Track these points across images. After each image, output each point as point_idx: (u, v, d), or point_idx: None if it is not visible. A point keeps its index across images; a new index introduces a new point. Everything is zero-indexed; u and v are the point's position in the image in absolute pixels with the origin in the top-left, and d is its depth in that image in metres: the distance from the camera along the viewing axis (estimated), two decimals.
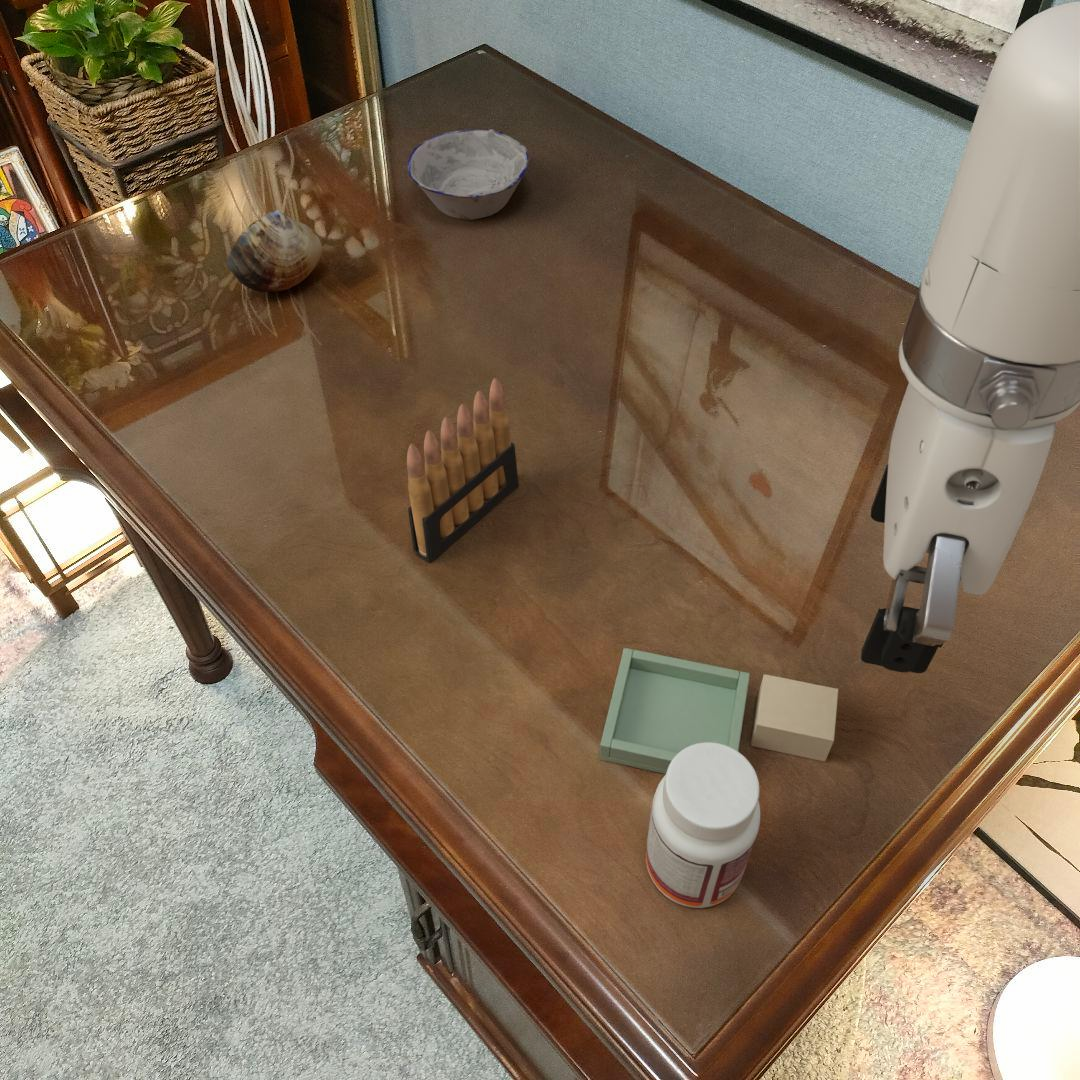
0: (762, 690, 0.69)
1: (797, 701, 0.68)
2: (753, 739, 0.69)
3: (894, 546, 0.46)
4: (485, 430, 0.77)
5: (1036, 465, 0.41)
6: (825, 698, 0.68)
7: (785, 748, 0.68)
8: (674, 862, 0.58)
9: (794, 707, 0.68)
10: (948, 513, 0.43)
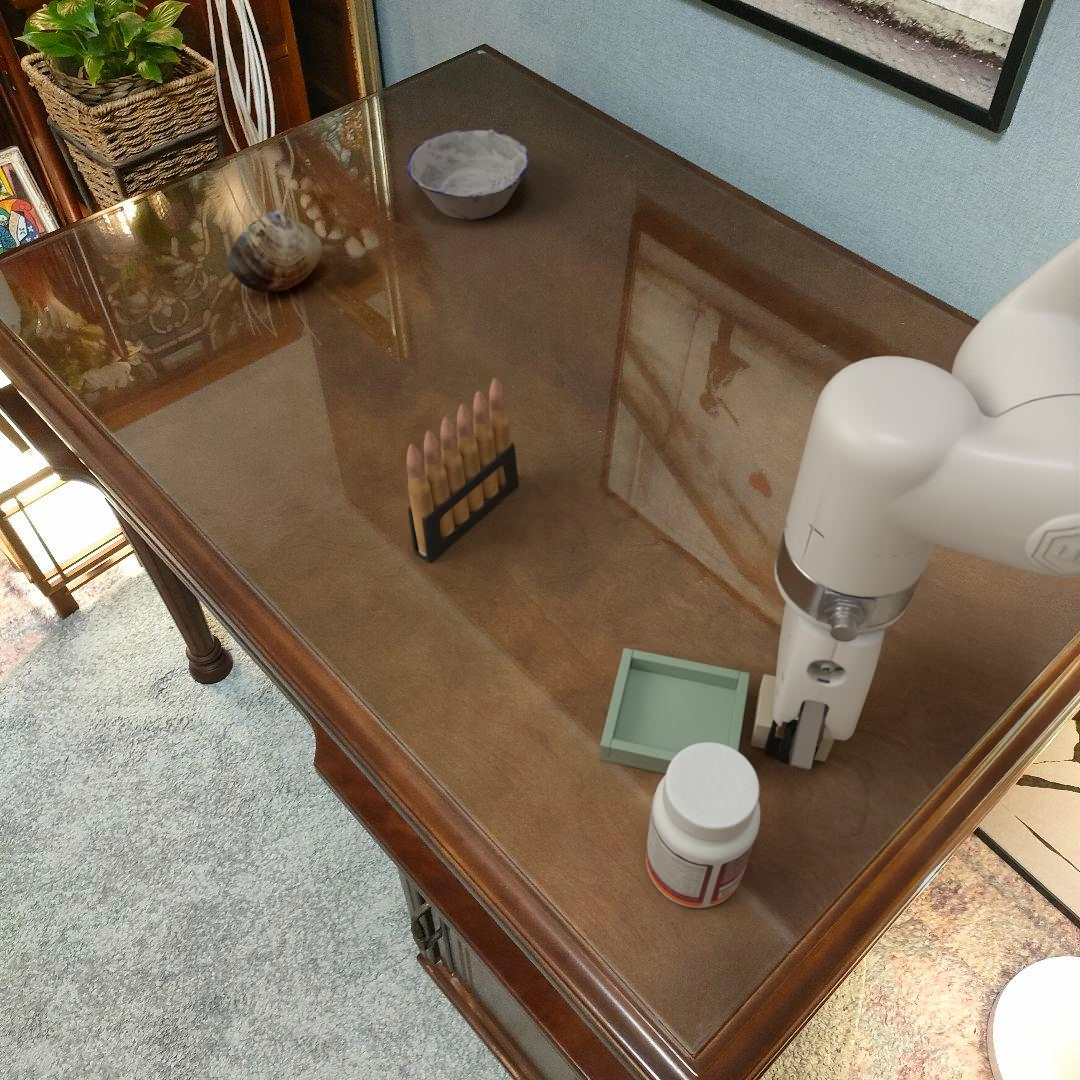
0: (762, 690, 0.69)
1: None
2: (753, 739, 0.69)
3: (777, 705, 0.60)
4: (485, 430, 0.77)
5: (871, 659, 0.55)
6: None
7: None
8: (674, 862, 0.58)
9: None
10: (811, 688, 0.57)
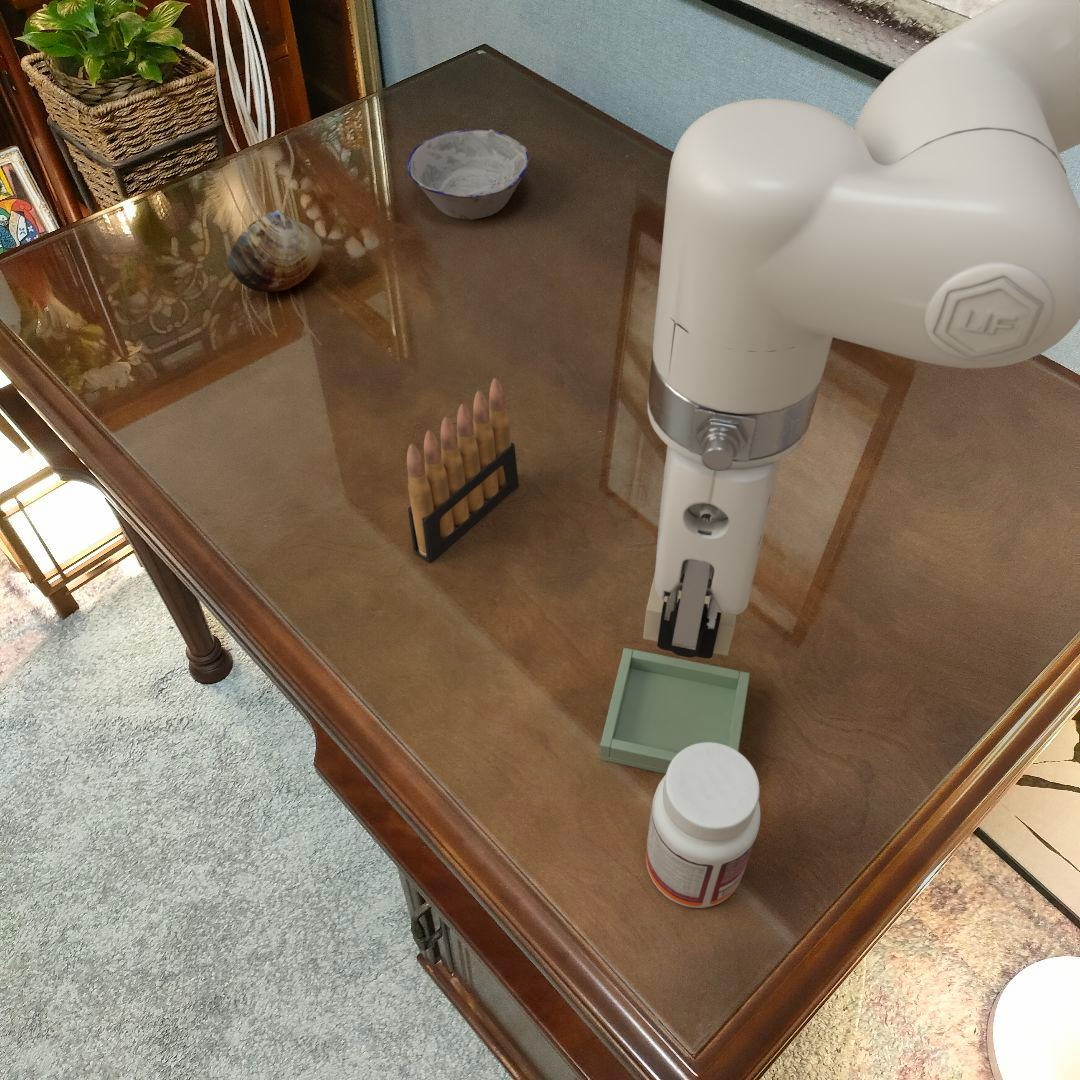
0: None
1: None
2: (645, 629, 0.59)
3: (656, 570, 0.50)
4: (485, 430, 0.77)
5: (756, 500, 0.45)
6: None
7: None
8: (674, 862, 0.58)
9: None
10: (690, 542, 0.48)
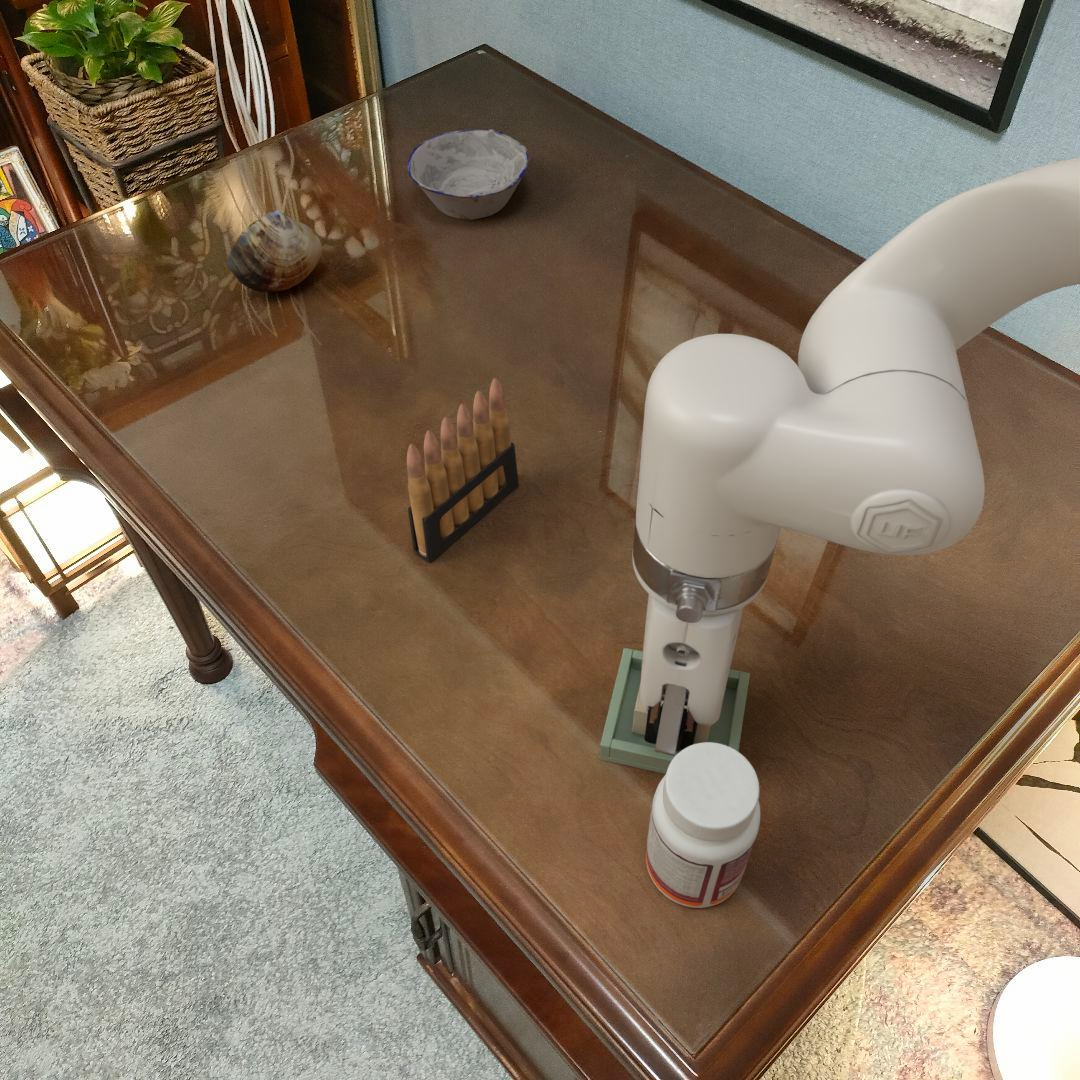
0: None
1: None
2: (633, 725, 0.68)
3: (641, 689, 0.59)
4: (485, 430, 0.77)
5: (723, 641, 0.54)
6: None
7: None
8: (674, 862, 0.58)
9: None
10: (669, 671, 0.57)
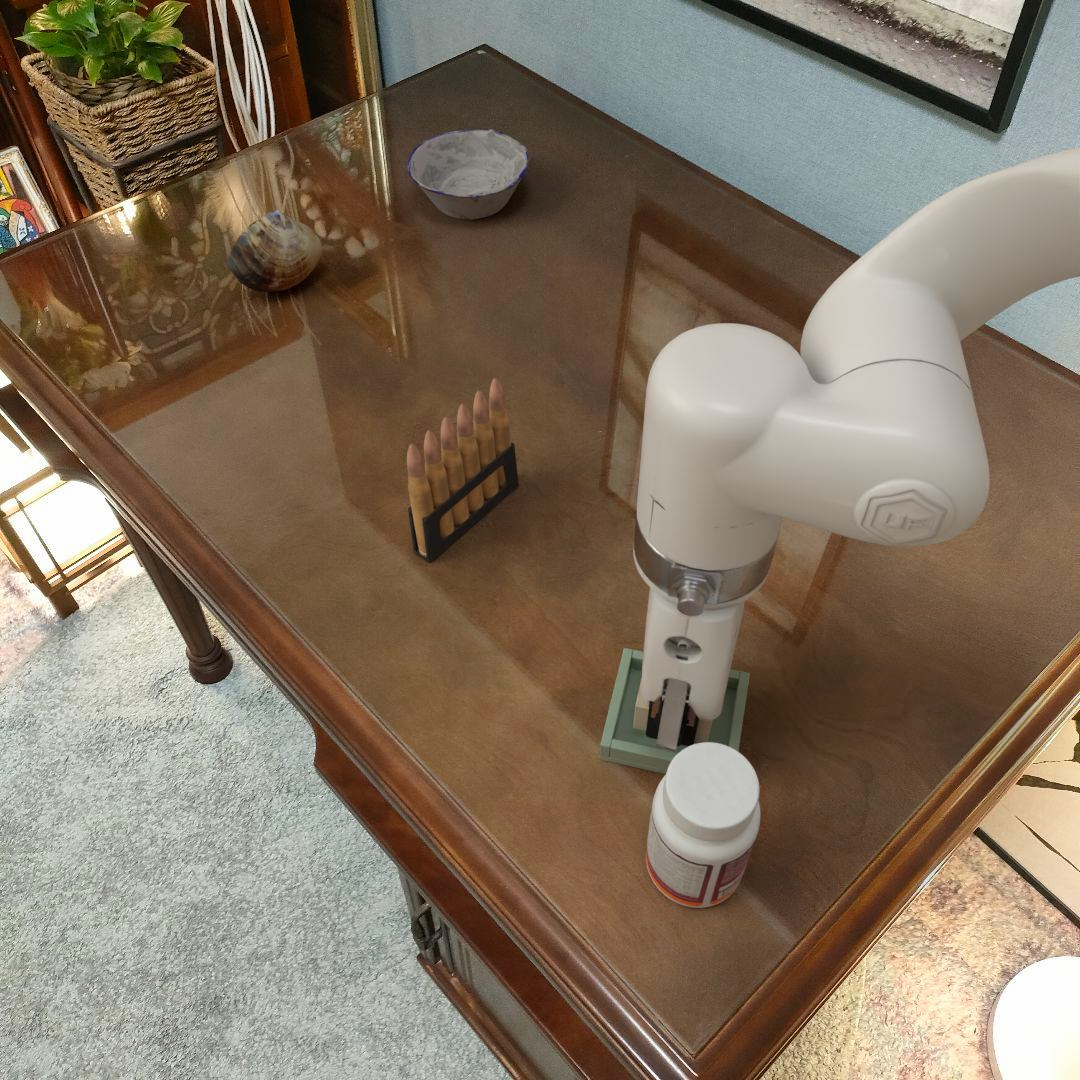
0: None
1: None
2: (634, 721, 0.68)
3: (642, 683, 0.59)
4: (485, 430, 0.77)
5: (725, 635, 0.54)
6: None
7: None
8: (674, 862, 0.58)
9: None
10: (670, 665, 0.56)
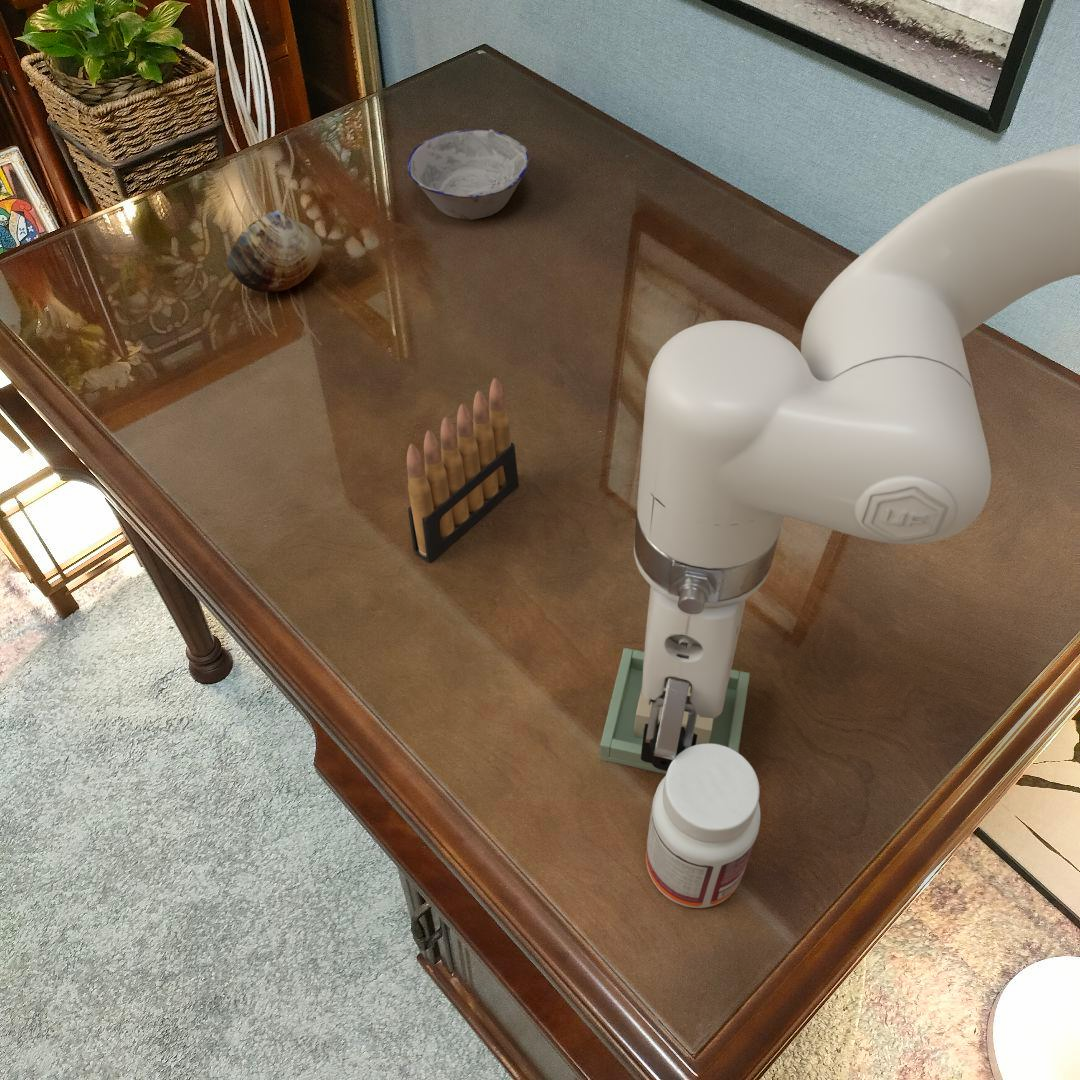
0: None
1: None
2: (635, 729, 0.69)
3: (643, 682, 0.59)
4: (485, 430, 0.77)
5: (725, 633, 0.54)
6: None
7: None
8: (674, 863, 0.58)
9: None
10: (671, 663, 0.56)
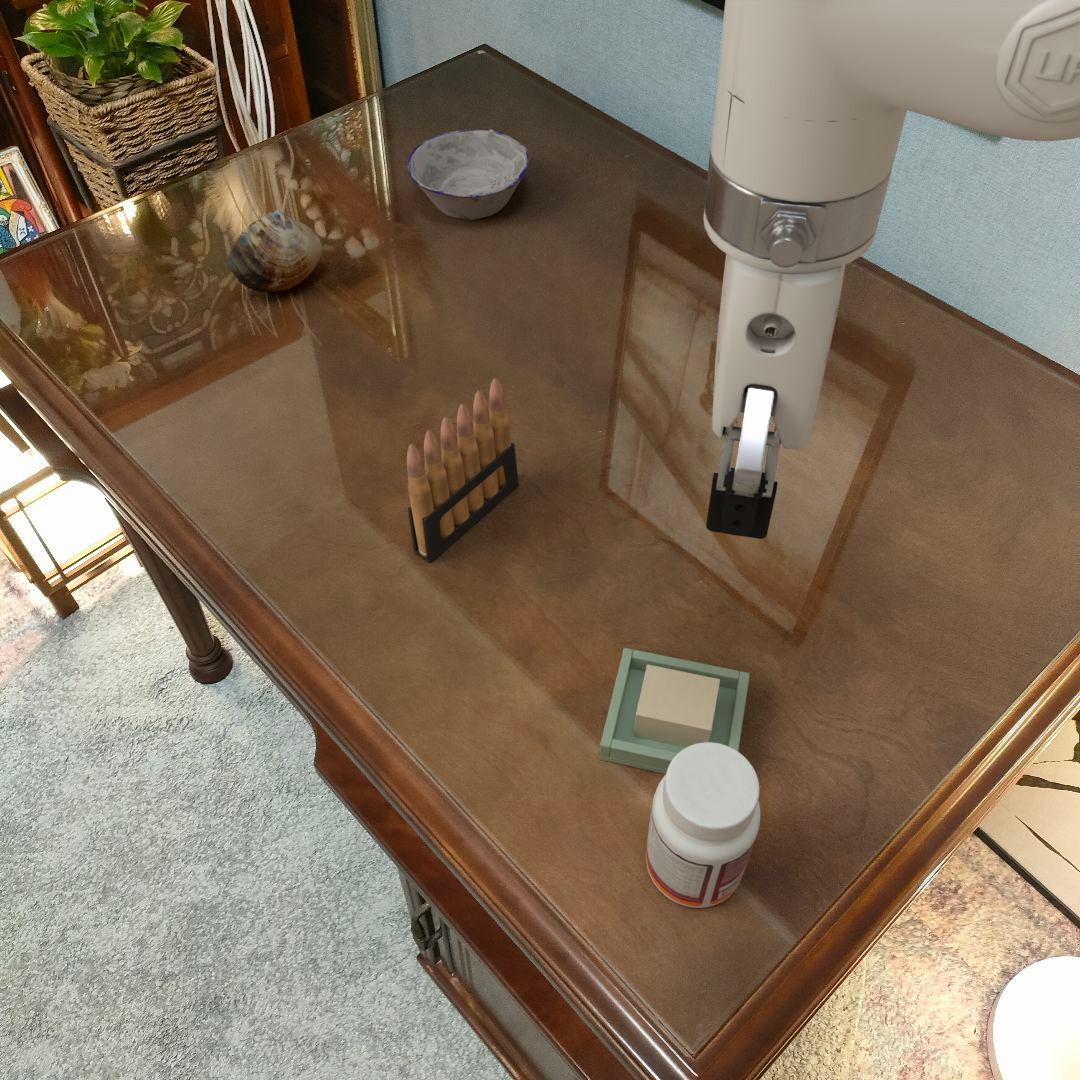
0: (644, 680, 0.69)
1: (678, 691, 0.68)
2: (635, 729, 0.69)
3: (714, 403, 0.48)
4: (485, 430, 0.77)
5: (824, 306, 0.43)
6: (706, 689, 0.68)
7: (666, 738, 0.68)
8: (674, 862, 0.58)
9: (675, 698, 0.68)
10: (753, 362, 0.45)
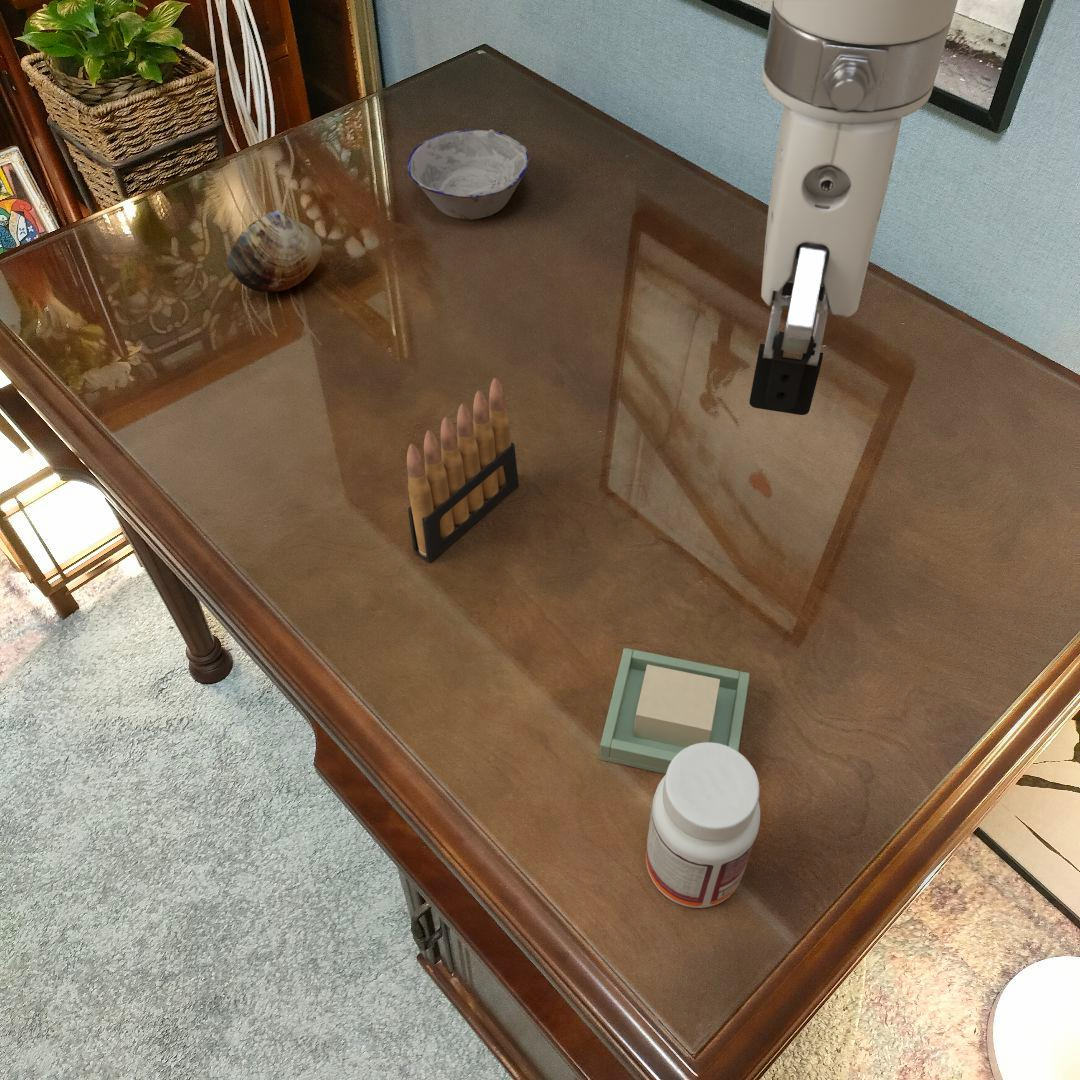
0: (644, 680, 0.69)
1: (678, 691, 0.68)
2: (635, 729, 0.69)
3: (765, 266, 0.49)
4: (485, 430, 0.77)
5: (881, 158, 0.44)
6: (706, 689, 0.68)
7: (666, 738, 0.68)
8: (674, 862, 0.58)
9: (675, 698, 0.68)
10: (807, 219, 0.46)
